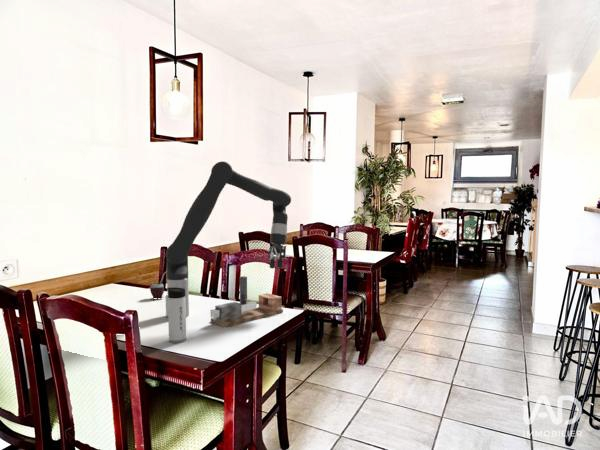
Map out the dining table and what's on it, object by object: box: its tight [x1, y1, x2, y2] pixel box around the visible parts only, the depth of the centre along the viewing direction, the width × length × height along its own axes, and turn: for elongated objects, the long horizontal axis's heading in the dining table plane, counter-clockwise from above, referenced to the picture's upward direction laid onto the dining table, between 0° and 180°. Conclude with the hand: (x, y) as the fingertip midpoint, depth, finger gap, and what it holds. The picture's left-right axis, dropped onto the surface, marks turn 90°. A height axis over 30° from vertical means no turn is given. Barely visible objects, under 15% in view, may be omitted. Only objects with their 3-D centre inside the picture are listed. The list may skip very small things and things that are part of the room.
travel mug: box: [166, 287, 187, 344], centre depth 150 cm, size 6×7×20 cm
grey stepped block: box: [209, 275, 257, 318], centre depth 175 cm, size 22×3×15 cm, turn 134°
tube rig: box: [210, 292, 284, 328], centre depth 181 cm, size 32×11×8 cm, turn 134°
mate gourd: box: [149, 270, 167, 299], centre depth 216 cm, size 8×8×15 cm
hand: (275, 268), depth 188 cm, fingers open, 8 cm apart
